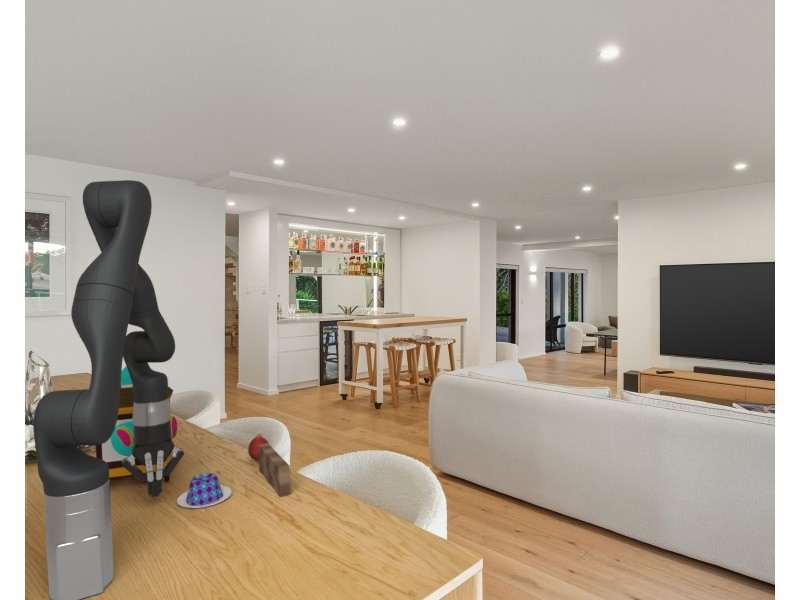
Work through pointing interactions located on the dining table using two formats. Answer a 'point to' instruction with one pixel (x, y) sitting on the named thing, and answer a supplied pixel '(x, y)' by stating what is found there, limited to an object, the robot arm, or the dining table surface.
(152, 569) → the dining table surface
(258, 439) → the onion
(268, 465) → the walnut board
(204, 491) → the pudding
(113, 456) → the decorative lantern
